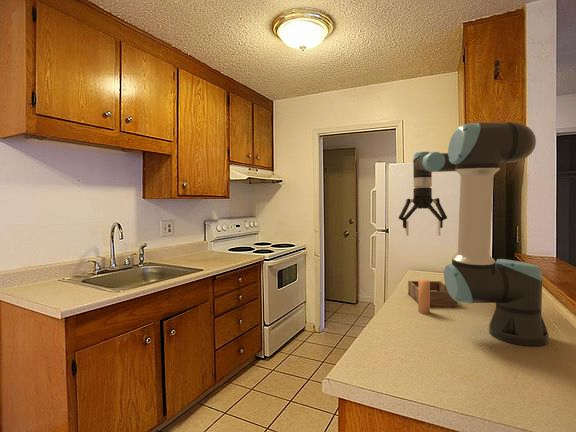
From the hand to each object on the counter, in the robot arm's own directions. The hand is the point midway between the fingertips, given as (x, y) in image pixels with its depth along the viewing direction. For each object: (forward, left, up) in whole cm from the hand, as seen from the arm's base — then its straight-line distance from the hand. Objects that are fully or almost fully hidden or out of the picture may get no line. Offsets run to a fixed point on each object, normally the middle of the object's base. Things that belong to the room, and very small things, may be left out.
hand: (422, 235), depth 149 cm
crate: (-8, -1, -27) cm, 28 cm away
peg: (-24, +7, -27) cm, 36 cm away
